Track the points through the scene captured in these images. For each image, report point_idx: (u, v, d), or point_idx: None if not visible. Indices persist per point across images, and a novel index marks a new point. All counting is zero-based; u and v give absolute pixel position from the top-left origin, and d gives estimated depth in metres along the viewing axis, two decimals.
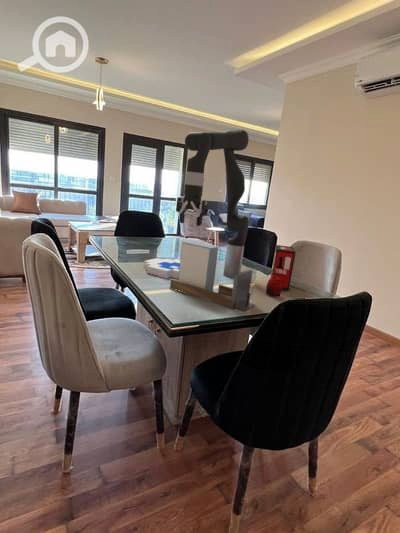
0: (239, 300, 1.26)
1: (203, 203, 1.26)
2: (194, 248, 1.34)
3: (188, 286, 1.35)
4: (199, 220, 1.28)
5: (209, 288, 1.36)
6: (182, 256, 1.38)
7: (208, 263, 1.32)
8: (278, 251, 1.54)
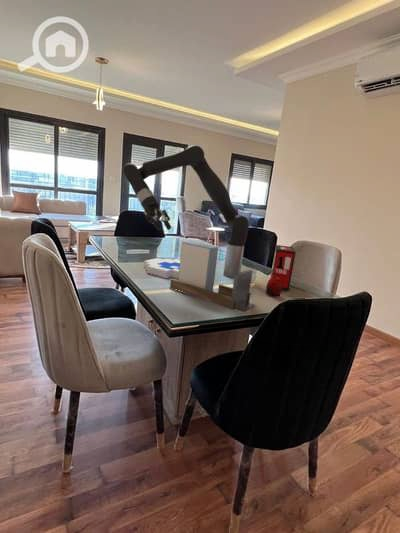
0: (239, 300, 1.26)
1: None
2: (194, 248, 1.34)
3: (188, 286, 1.35)
4: (155, 226, 1.43)
5: (209, 288, 1.36)
6: (182, 256, 1.38)
7: (208, 263, 1.32)
8: (278, 251, 1.54)
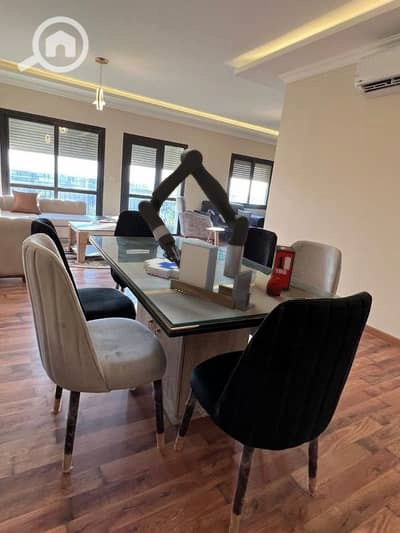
0: (239, 300, 1.26)
1: None
2: (194, 248, 1.34)
3: (188, 286, 1.35)
4: None
5: (209, 288, 1.36)
6: (182, 256, 1.38)
7: (208, 263, 1.32)
8: (278, 251, 1.54)
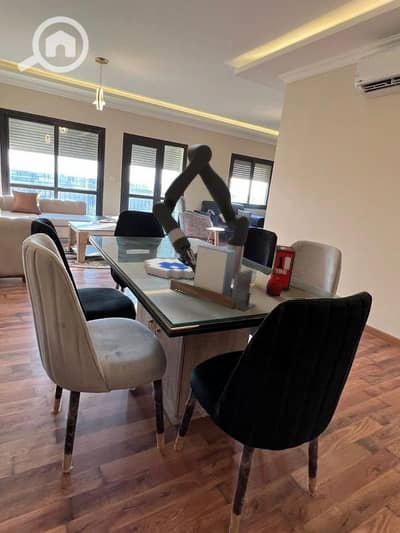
0: (239, 300, 1.26)
1: None
2: (211, 252, 1.29)
3: (188, 286, 1.35)
4: (192, 269, 1.39)
5: (226, 293, 1.31)
6: (198, 260, 1.34)
7: (225, 268, 1.27)
8: (278, 251, 1.54)
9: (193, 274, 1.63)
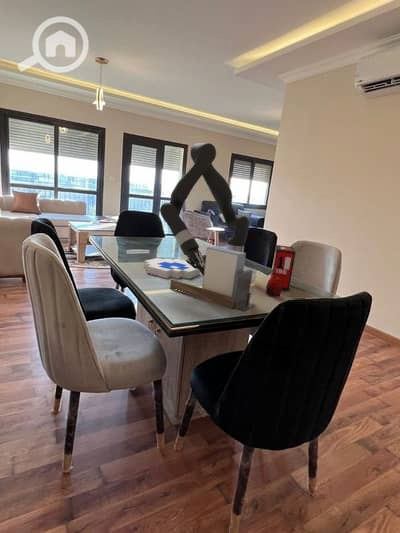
0: (239, 300, 1.26)
1: None
2: (220, 254, 1.27)
3: (188, 286, 1.35)
4: (201, 272, 1.36)
5: None
6: (207, 262, 1.31)
7: (236, 270, 1.24)
8: (278, 251, 1.54)
9: (193, 274, 1.63)
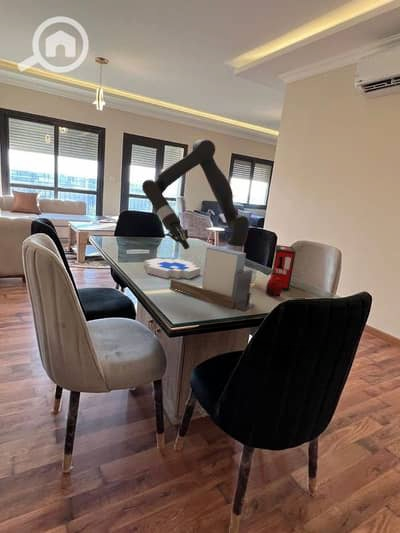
0: (239, 300, 1.26)
1: None
2: (220, 254, 1.27)
3: (188, 286, 1.35)
4: None
5: None
6: (207, 262, 1.31)
7: (236, 270, 1.24)
8: (278, 251, 1.54)
9: (193, 274, 1.63)
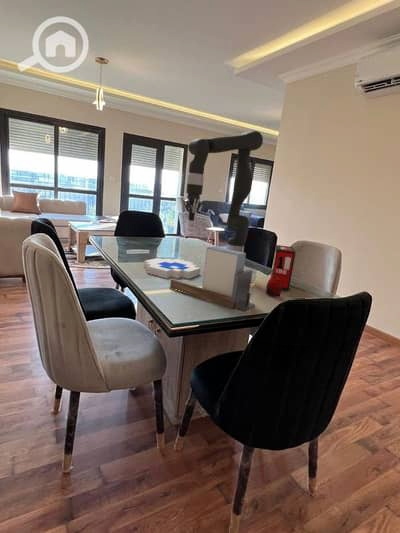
0: (239, 300, 1.26)
1: None
2: (220, 254, 1.27)
3: (188, 286, 1.35)
4: (189, 215, 1.52)
5: None
6: (207, 262, 1.31)
7: (236, 270, 1.24)
8: (278, 251, 1.54)
9: (193, 274, 1.64)
